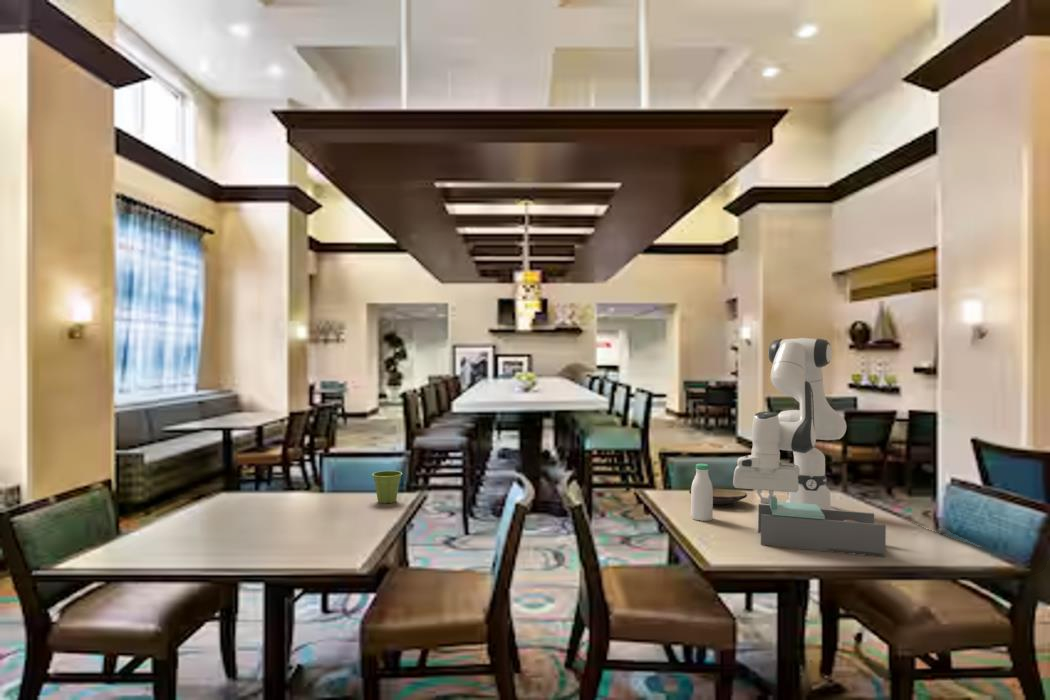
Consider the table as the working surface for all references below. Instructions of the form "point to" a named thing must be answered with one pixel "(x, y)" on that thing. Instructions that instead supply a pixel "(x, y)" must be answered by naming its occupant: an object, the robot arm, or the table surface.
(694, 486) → the milk bottle
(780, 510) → the lid
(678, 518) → the table surface
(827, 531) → the housing
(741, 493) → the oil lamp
